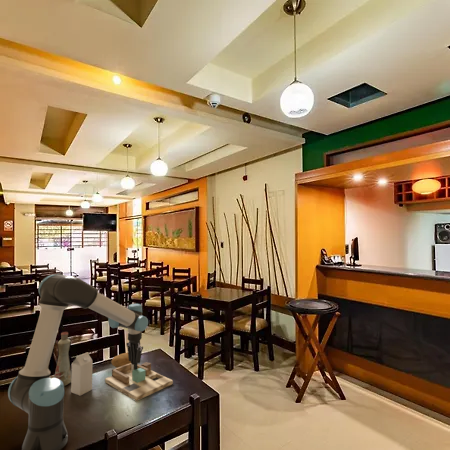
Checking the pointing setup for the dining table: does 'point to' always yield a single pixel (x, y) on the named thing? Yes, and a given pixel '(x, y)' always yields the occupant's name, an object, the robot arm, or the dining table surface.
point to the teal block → (138, 375)
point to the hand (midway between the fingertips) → (134, 374)
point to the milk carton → (81, 374)
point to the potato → (120, 360)
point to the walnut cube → (147, 365)
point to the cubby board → (135, 390)
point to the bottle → (63, 360)
